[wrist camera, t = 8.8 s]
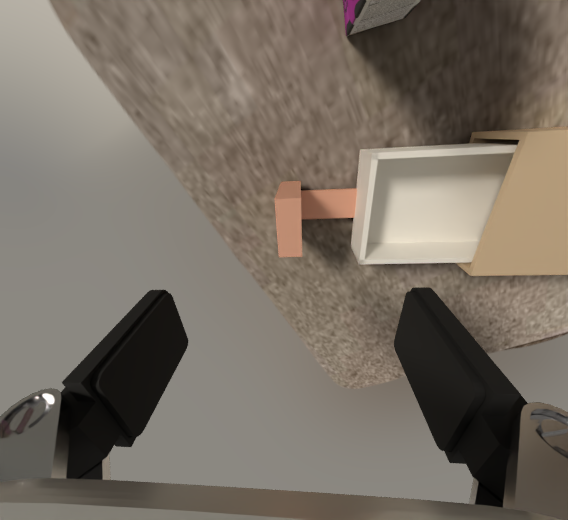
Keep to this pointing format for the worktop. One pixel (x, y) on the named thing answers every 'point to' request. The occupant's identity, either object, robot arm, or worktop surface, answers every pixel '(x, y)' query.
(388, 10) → the candy bar box
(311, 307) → the worktop surface
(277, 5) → the worktop surface
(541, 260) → the sleeve
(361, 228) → the tray
